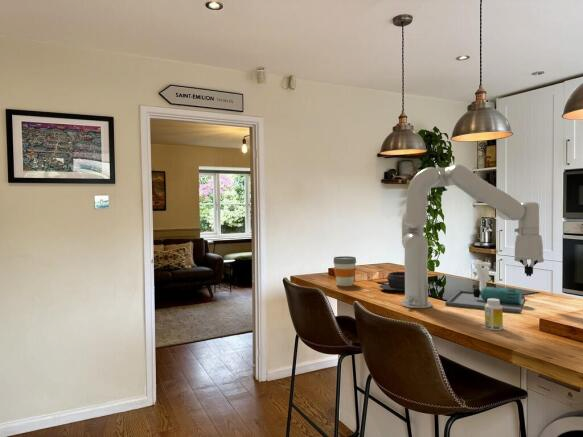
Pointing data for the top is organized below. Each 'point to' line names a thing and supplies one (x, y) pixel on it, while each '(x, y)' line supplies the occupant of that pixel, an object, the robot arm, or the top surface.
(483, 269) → the white tall piece
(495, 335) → the top surface
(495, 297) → the beverage bottle
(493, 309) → the supplement bottle
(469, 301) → the grey square tray
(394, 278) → the cup and saucer
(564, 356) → the top surface
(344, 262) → the reusable coffee cup
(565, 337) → the top surface
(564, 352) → the top surface
